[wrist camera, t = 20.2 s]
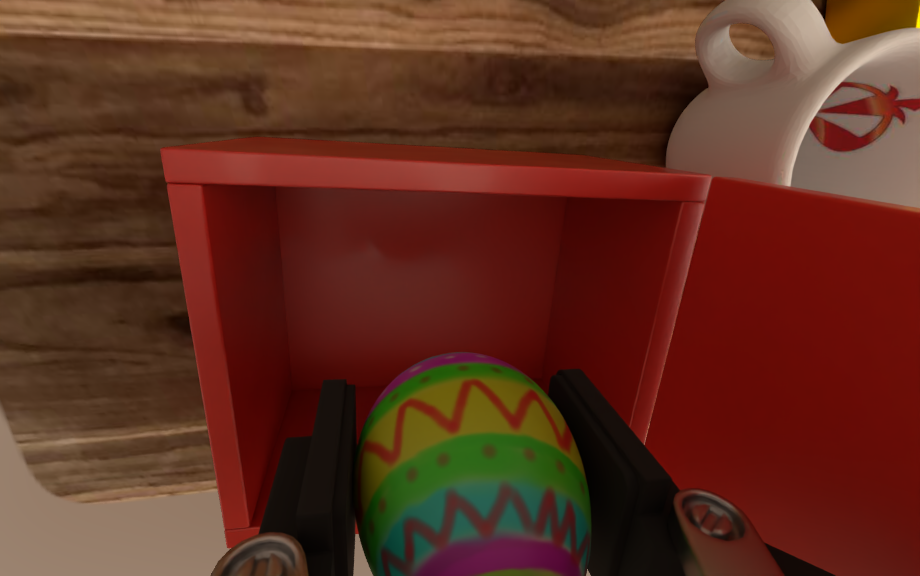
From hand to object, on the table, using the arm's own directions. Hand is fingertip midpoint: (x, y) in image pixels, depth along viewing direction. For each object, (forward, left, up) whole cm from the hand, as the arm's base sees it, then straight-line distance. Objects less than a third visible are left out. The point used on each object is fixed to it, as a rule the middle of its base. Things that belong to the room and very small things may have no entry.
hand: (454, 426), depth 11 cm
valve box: (0, 0, -11) cm, 11 cm away
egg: (0, 0, -1) cm, 1 cm away
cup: (+14, +8, -12) cm, 20 cm away
